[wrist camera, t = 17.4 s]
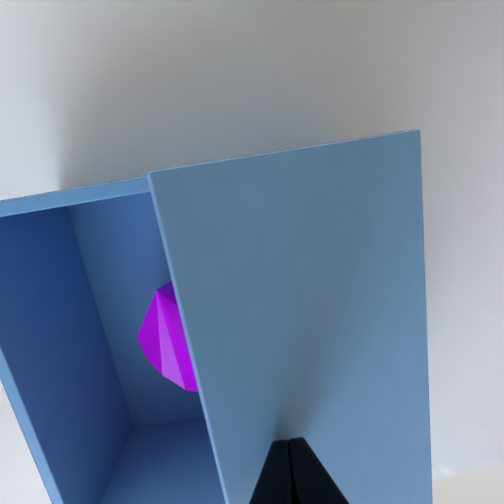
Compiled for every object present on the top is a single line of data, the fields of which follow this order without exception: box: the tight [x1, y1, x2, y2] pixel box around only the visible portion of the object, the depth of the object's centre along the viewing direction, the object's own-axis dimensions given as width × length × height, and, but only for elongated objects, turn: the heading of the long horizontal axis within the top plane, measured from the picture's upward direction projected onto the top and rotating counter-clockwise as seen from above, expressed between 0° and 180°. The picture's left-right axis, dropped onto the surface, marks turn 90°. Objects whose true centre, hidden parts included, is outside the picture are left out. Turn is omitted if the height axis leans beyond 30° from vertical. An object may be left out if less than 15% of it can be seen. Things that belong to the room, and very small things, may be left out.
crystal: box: [137, 280, 199, 392], centre depth 16 cm, size 5×5×5 cm
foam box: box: [0, 131, 405, 504], centre depth 15 cm, size 15×15×7 cm
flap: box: [146, 130, 432, 504], centre depth 9 cm, size 7×15×1 cm, turn 10°
